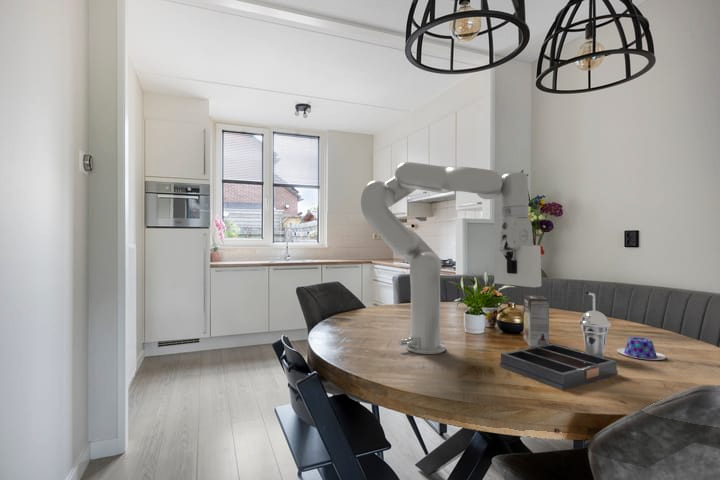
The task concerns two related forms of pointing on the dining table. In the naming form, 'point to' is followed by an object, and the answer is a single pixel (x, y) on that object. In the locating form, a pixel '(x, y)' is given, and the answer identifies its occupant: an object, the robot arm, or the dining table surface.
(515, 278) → the panel
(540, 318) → the coffee box
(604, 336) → the cup with straw
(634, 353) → the pudding
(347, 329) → the dining table surface
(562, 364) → the tray
